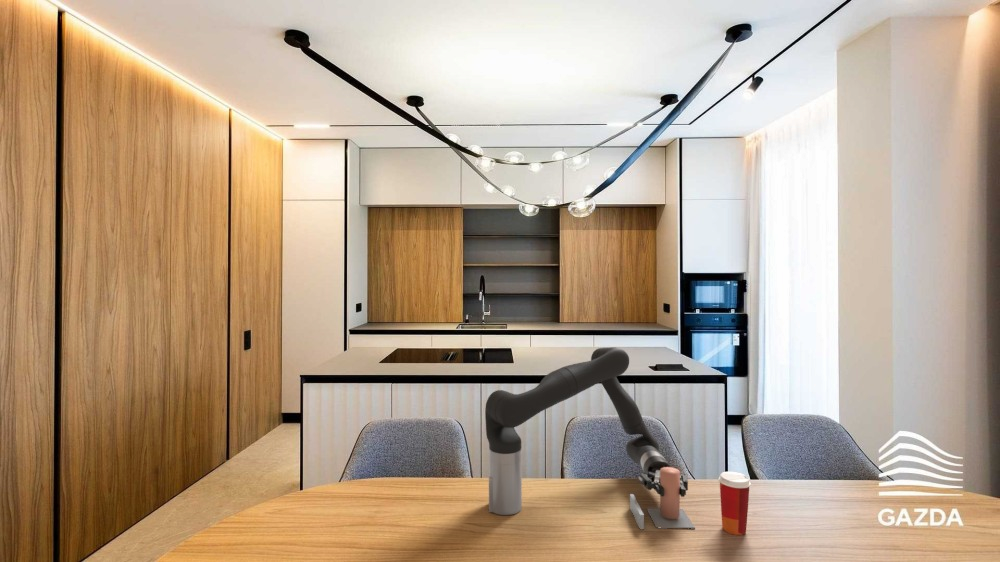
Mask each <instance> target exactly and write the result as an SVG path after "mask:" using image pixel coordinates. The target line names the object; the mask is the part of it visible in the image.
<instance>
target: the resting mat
mask: <svg viewBox="0 0 1000 562" xmlns="http://www.w3.org/2000/svg"><path fill="white" fill-rule="evenodd" d="M646 511H647V514H648V515H649V517H650V516H651V517H650V519H651V518H652V519H651V520H653V521H652V523H653V522H654V523H653V524H655V525H654V527H655V526H656V527H661V528H660V529H667V528H688V529H687V530H695V529H696V527H695V525H694V524H693V522H692V521H691V520H690V517H689V516H688V515H687V513H686V512H685V510H684V509H683V508H680V516H679V518H676V519H669V518H665V517H663V516H662V515H661V514H660V508H646ZM656 527H655V528H656ZM689 528H691V529H689Z"/></svg>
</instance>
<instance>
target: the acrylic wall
mask: <svg viewBox="0 0 1000 562" xmlns="http://www.w3.org/2000/svg"><path fill="white" fill-rule="evenodd" d="M629 510H630V511H631V513H633V514H632V516H633V515H634V516H633V518H634V517H635V518H634V520H635V519H636V520H635V522H636V524H637V526H639V527H638V529H639V528H640V529H644V530H645V514H644V511H643V510H642V508H641V506H640V504H639V503H638V501H637V498H636V496H635V494H633V493H630V494H629ZM640 529H639V530H640Z"/></svg>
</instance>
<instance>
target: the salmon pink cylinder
mask: <svg viewBox="0 0 1000 562" xmlns="http://www.w3.org/2000/svg"><path fill="white" fill-rule="evenodd" d="M680 476H681V471H680V470H679V469H678V468H675V467H672V466H671V467H663V468H661V469H660V484H661V485H662V487H663V488H664V496H660V495H659V498H660V499H659V500H660V501H659V509H660V514H661V515H662V516H663V517H665V518H669V519H676V518H679V516H680V509H681V508H680V501H681V500H680V499H681V498H680V497H681V495H680Z"/></svg>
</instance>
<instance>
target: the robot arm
mask: <svg viewBox="0 0 1000 562" xmlns="http://www.w3.org/2000/svg"><path fill="white" fill-rule="evenodd" d="M590 357H591V358H590V360H587V361H582V362H576V363H572V364H568V365H565V366H562V367H560V368H558V369H556V370H552V371H551V372H549V373H547V374H546V375H545V376H544V377H543V378H542V379H541V381H540V382H539V383H538V384H537V386H535V387H534V388H532V389H530V390H527V391H525V392H522V393H518V394H517V393H516V394H515V393H512V392H509V391H506V390H502V389H498V390H495V391H493V392H492V393H490V395H488V398H487V400H486V403H485V408H484V412H485V413H484V414H485V415H484V416H485V418H484V419H485V432H486V439H487V441H488V450H489V452H488V454H489V455H488V460H489V467H488V468H489V469H488V471H489V472H488V474H489V475H488V513H493V514H496V515H498V516H499V515H501V516H511V515H514V514H515V515H516V514H518V513H519V512H521V510H522V508H523V507H522V505H523V504H522V503H523V498H522V495H523V494H522V493H523V492H522V484H523V483H522V480H523V479H522V476H523V475H522V438H521V437H520V435H519V434H518V433H517V431H516V428H517V427H519V426H520V425H522V424H524V423H526V422H527V421H529V420H530V419H532V418H533V417H535V416H536V415H538V414H540V413H541V412H543V411H545V410H547V409H550V408H552V407H553V406H555V405H558V404H559V403H561V402H564V401H566V400H568V399H570V398H572V397H574V396H576V395H578V394H580V393H582V392H584V391H586V390H588V389H589V388H591V387H593V386H595V385H598V384H599V383H600V384H601V385H602V386H603V389H604V390H605V392H606V394H607V395H608V397H609V399H610V400H611V402H612V404H613V407H614V409H615V410H616V413H617V416H618V417H619V420H620V424H621V426H622V429H623V431H624V433H626V435H631V436H633V435H640V436H637V437H635V438H632V439H630V440H629V441H627V442H626V444H625V449H626V450H625V451H626V454H627V455H628V457H629V458H630V460H632V461H633V462H634V463H636V464H637V465H639V466H641V469H642V471H643V472H638V482H639V483H640V484H641V485H642V486H643V487H644V488H646V490H648V491H651V490H652V489H653V490H654V491H655V492H656V493H657V494H658V495H659V497H660V496H664V488H663V487H662V485H661V484H660V469H661V468H663V467H672V466H671V465H670V463H669V462H668V460H666V458H665V457H664V456H663V455H662V454H661V452H660V445H659V444H660V443H659V441H657V439H656V438H655V436H654V435H653V434H652V433H651V432H650V430H649V428H648V427H647V426H646V424H645V422H644V419H643V417H642V414H641V412H640V409H639V407H638V405H637V403H636V402H635V400H634V399H633V397H631V396H630V394H629V392H627V391H626V389H624V387H623V386H622V385H621V383H620V381H619V379H618V378H617V377H619V376H621V375H623V374H624V373H625V372H626V371H627V369H628V368H629V366H630V357H629V355H628V353H627V352H626V351H625V349H622V348H620V347H615V346H613V347H600V348H596V349H595V350H594V351H593V352H592V354H591V356H590ZM688 484H689V480H688V474H687V473H686V472H683V473H681V474H680V497H682V498H684V497H685V496H686V495H687V491H688V490H689V485H688Z"/></svg>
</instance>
